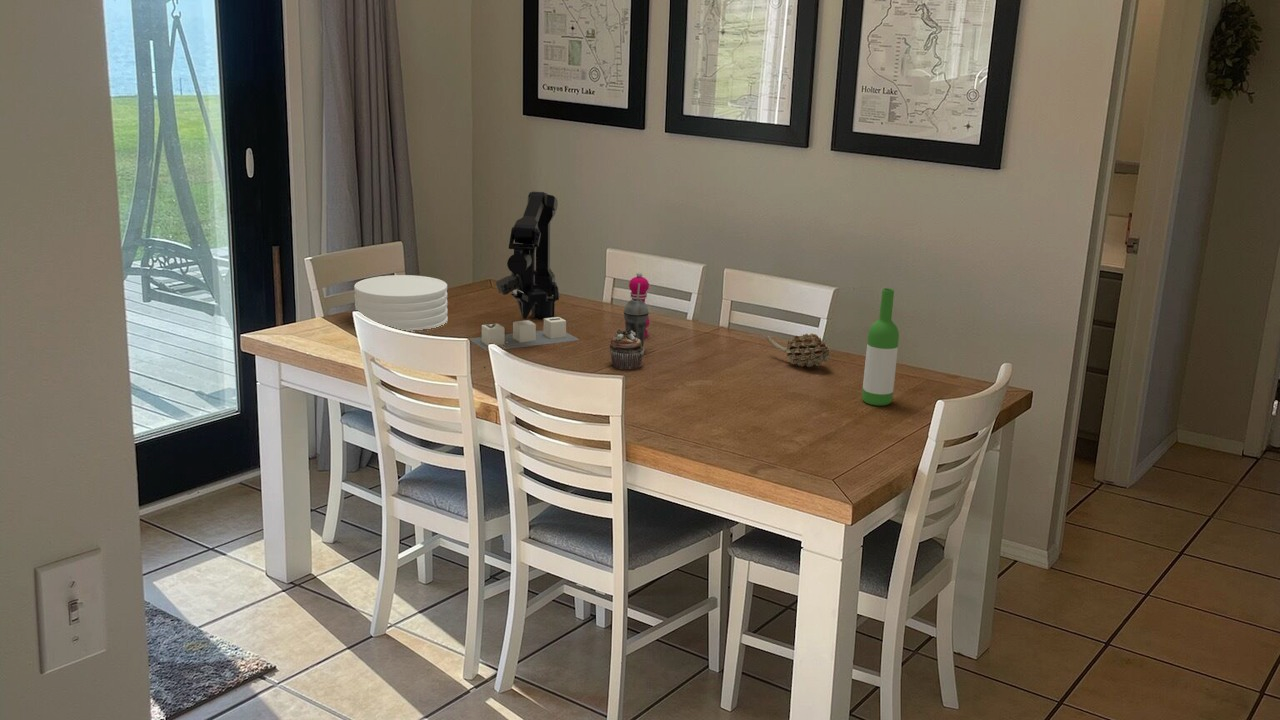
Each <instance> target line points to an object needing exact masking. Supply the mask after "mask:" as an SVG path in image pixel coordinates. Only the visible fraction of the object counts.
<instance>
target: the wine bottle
mask: <svg viewBox="0 0 1280 720" xmlns="http://www.w3.org/2000/svg"><path fill="white" fill-rule="evenodd" d="M894 293H895V290H894V289H893V288H888V287H887V288H883V289H882V291H881V300H880V308H879V316H878V319H877V320H876V321H874V322H873V323H872V324H871V325H870V327H869V329H868V334H867V342H866V352H865V362H864V363H865V364H864V372H863V382H862V395H861V398H862V401H863V402H865V403H866V404H868V405H871V406H879V407H880V406H881V407H882V406H883V407H884V406H888V405H889V404H891V403H892V401H893V397H894V395H893V394H894V388H895V378H896V367H897V360H898V349H899V340H900V339H899V338H900V333H899V332H900V331H899V329H898V327H897V325H896V324H895V323H894V322H893V321H892V320H893V319H892V316H893V306H894V298H895V297H894Z"/></svg>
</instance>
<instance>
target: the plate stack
mask: <svg viewBox="0 0 1280 720" xmlns="http://www.w3.org/2000/svg"><path fill="white" fill-rule="evenodd" d="M353 287H354V300H355V302H354V307H355V310H358V311H360V312H361V313H362V314H363V315H364V316H366V317H368V318H370V319H372V320H374V321H376V322H379V323H381V324H384V325H387V326H391V327H394V328H397V329H401V330H406V331H411V332H410V333H416V332H415V331H413V330H423V329H431V328H436V327H439V326H441V325H443V326H445V325H446V324H447V323H448V321H449V318H448V314H449V313H448V292H447V291H448V283H446V281H444V280H441V279H439V278H435V277H432V276H431V277H430V276H424V275H411V274H396V275H381V276H379V275H378V276H373V277H370V278H364V279H362V280H359V281H357V282H356V283H355V284H354V286H353ZM355 310H354V311H355ZM445 323H446V324H445ZM444 324H445V325H444ZM441 327H442V326H441ZM439 328H440V327H439ZM436 329H437V328H436Z"/></svg>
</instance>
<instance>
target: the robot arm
mask: <svg viewBox="0 0 1280 720" xmlns="http://www.w3.org/2000/svg"><path fill="white" fill-rule="evenodd" d="M527 195H528V196H527V204H526V206H525V209H524V212H523V214H522V217H520V218H519V219H517V220H516V221H515V223H514V225H513V226H512V227H511V229H510V230H511V231H510V236H509V243H508V249H509V250H513V254H511V256H510V257H508V260H507V262H506V264H507V265H506V266H507V268H508V270H509V271H510V272H511V274H510V275H508V276H505V277H503V278H501V279H499V280H496V281H495V284H496V288H497V291H498V293H500V294H502V295H503V296H505V295H509V293H510V295H511V297H512V298H515V300H516V301H517V304H518V307H519V308H518V309H519V311H520V314H521V318H522V319H523V320H526V319H527V320H528V317H529V316H530V317H532V319H535V320H544V318H553V317H556V316H555V302H556V301H559V300H560V292H559V287H558V284H557V282H556V276H555V273H554V272H553V271H552V269H551V222H552V221H553V218H555V216H556V212H557V210H558V199H557V197H556V196H554V195H551V194H548V193H547V192H544V191H530V192H529V194H527ZM511 292H513V293H511Z"/></svg>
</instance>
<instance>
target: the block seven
mask: <svg viewBox="0 0 1280 720" xmlns="http://www.w3.org/2000/svg"><path fill="white" fill-rule="evenodd" d="M505 329H506V328H505V327H504V326H502V325H501V324H500V323H491V324H482V325H481V337H482V342H483V343H484V344H486V345H488V344H489V343H493V344H496V345H500V344H501V345H502V344H504V335H505V333H506V332H505ZM497 343H498V344H497Z"/></svg>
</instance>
